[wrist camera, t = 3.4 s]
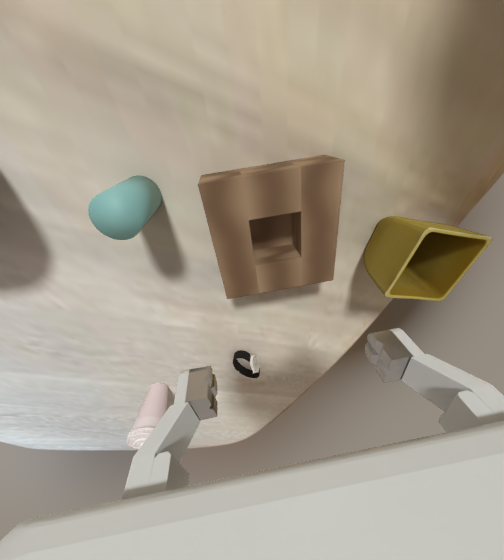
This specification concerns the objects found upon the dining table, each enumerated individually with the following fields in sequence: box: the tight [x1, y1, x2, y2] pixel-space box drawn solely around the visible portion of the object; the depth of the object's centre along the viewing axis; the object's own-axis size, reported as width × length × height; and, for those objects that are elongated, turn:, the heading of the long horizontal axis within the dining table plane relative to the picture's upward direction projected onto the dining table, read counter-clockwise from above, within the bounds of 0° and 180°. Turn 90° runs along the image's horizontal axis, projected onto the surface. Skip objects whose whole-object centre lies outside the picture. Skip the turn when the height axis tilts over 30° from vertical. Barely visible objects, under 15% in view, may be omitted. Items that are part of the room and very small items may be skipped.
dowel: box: [88, 176, 162, 240], centre depth 22 cm, size 4×4×8 cm
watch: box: [233, 351, 260, 378], centre depth 43 cm, size 8×5×4 cm, turn 26°
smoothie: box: [126, 383, 168, 449], centre depth 40 cm, size 6×6×14 cm
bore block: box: [198, 155, 345, 299], centre depth 27 cm, size 14×14×5 cm
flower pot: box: [364, 216, 492, 301], centre depth 28 cm, size 9×9×9 cm
